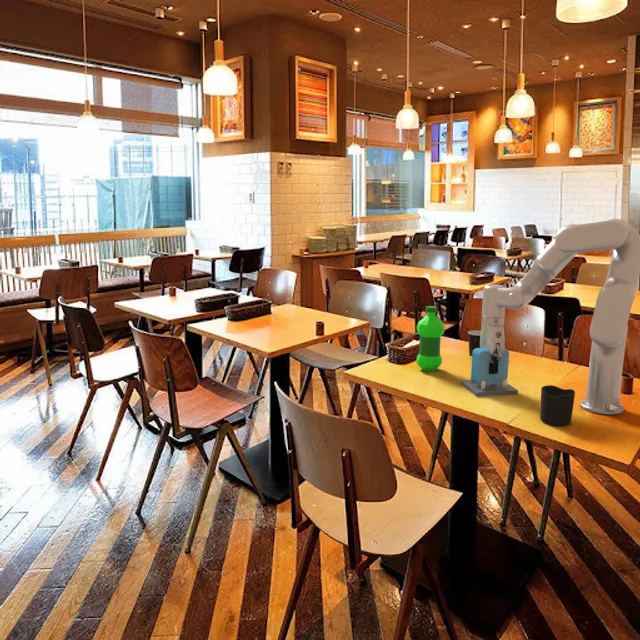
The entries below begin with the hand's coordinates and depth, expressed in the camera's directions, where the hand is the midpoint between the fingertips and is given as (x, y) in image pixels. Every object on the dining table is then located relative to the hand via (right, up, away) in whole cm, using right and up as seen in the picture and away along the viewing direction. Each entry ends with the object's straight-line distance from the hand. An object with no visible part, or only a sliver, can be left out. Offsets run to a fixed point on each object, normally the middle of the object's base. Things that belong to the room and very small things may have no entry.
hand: (489, 370), depth 208 cm
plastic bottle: (-17, -2, +24) cm, 30 cm away
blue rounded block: (0, -4, +1) cm, 4 cm away
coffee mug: (+6, +2, +43) cm, 44 cm away
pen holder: (+12, -13, -28) cm, 33 cm away
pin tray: (0, -7, +1) cm, 7 cm away
